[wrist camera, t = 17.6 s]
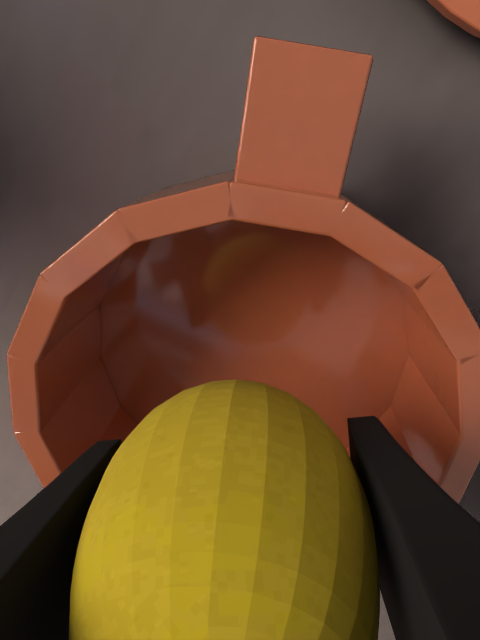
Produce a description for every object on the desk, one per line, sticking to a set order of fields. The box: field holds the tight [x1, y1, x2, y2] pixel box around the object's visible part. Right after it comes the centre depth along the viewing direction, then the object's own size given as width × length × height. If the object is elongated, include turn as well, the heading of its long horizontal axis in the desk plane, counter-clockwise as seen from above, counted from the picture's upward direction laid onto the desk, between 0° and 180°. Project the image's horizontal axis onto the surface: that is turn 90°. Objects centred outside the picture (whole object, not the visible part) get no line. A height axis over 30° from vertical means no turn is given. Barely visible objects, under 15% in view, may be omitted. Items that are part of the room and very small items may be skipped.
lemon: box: [69, 379, 380, 640], centre depth 8 cm, size 6×6×8 cm
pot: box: [7, 36, 480, 504], centre depth 13 cm, size 13×18×5 cm
